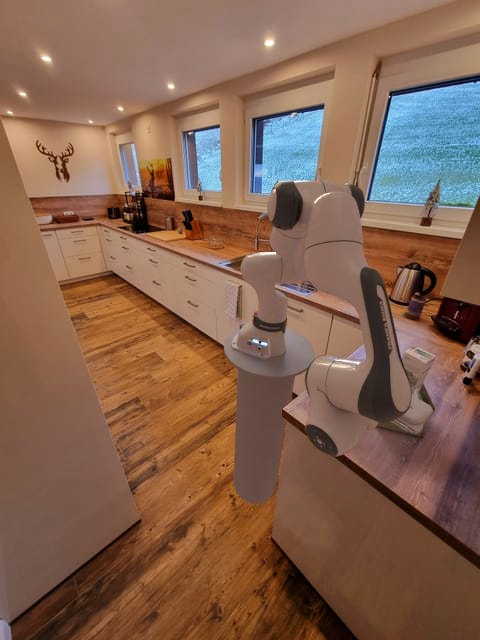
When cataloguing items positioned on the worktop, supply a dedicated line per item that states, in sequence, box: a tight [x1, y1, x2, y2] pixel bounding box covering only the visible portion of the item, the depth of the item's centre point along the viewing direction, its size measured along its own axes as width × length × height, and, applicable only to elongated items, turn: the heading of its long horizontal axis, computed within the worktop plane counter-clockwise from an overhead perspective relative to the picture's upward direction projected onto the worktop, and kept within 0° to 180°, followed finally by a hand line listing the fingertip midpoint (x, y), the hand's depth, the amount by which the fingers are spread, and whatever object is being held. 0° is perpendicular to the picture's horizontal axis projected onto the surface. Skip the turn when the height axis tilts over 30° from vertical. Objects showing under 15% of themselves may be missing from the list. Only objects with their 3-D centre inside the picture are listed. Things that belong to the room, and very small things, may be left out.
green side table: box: [376, 383, 436, 437], centre depth 78 cm, size 12×12×11 cm
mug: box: [404, 292, 427, 321], centre depth 138 cm, size 10×7×12 cm
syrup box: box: [401, 345, 437, 394], centre depth 72 cm, size 6×6×14 cm
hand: (394, 378), depth 65 cm, fingers open, 8 cm apart
